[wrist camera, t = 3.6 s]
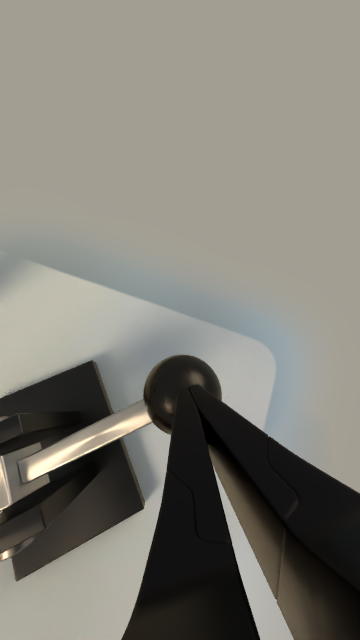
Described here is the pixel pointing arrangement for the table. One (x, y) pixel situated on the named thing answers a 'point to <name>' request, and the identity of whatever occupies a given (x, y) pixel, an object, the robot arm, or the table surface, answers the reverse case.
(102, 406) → the lever base
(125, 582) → the table surface
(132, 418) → the ball knob lever
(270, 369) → the table surface
